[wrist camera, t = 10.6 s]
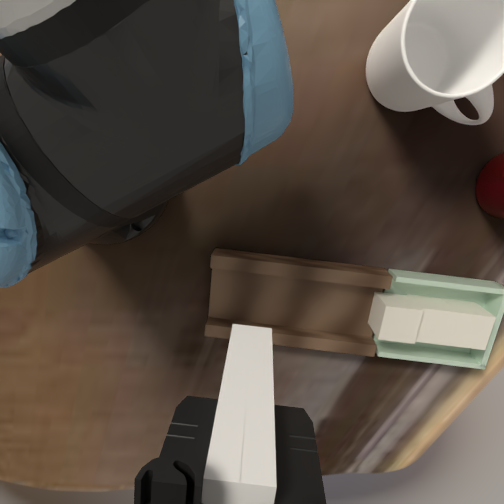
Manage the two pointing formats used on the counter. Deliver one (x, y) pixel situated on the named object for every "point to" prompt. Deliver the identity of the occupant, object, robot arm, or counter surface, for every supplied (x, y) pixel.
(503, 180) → the soda can
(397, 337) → the pale grey cube
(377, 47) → the mug
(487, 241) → the counter surface
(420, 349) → the tray
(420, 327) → the white cube
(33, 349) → the counter surface
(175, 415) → the robot arm
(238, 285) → the slot board
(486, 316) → the cream cube
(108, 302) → the counter surface
